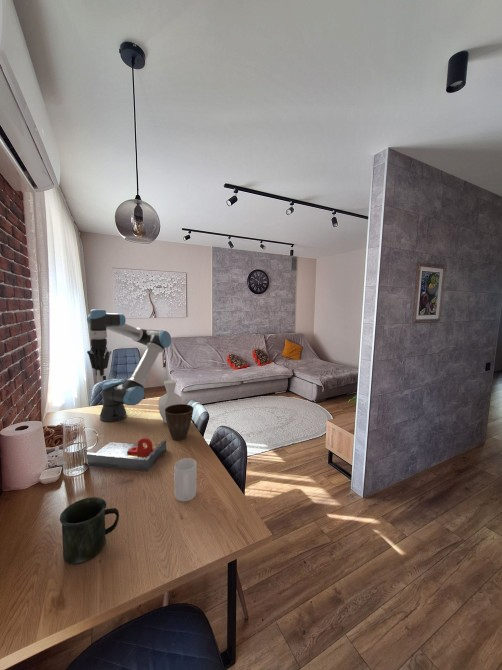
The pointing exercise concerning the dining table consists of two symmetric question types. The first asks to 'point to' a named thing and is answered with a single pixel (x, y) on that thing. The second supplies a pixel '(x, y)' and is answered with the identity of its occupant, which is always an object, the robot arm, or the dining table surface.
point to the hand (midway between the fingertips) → (100, 381)
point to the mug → (85, 529)
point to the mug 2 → (185, 479)
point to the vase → (168, 398)
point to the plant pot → (179, 420)
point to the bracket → (142, 448)
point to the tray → (125, 456)
